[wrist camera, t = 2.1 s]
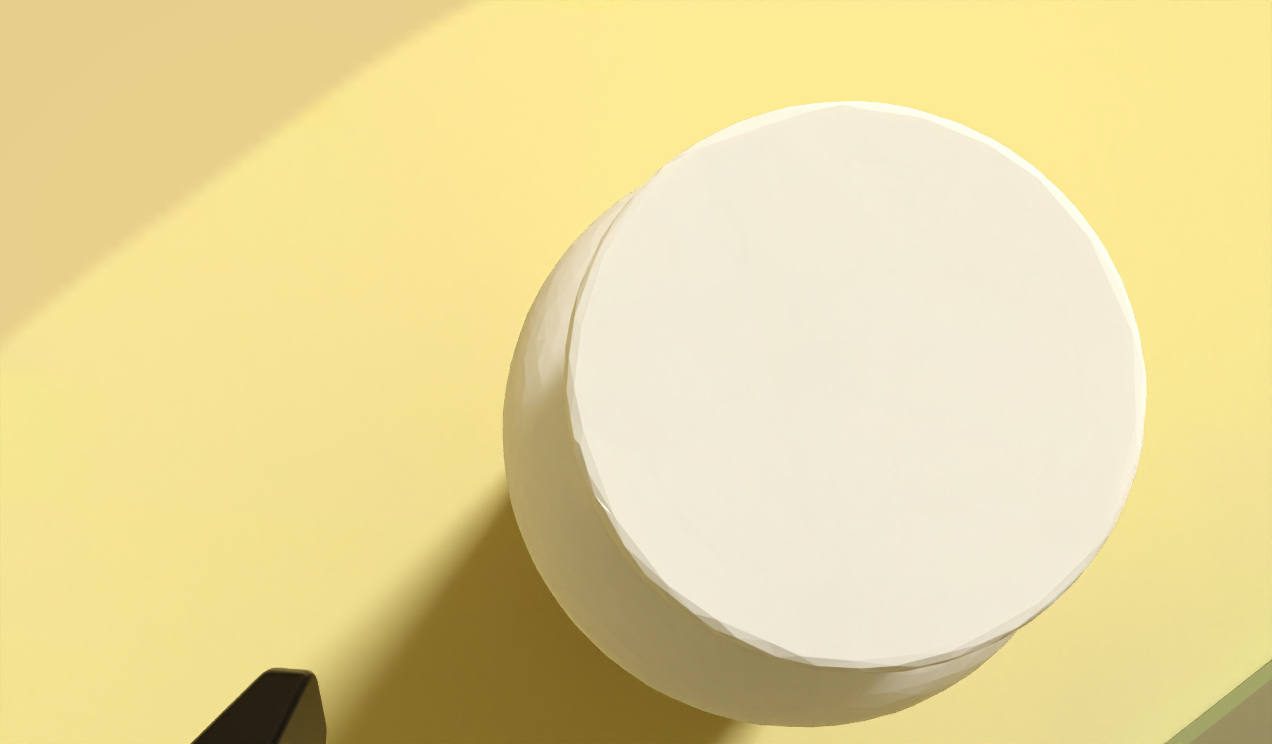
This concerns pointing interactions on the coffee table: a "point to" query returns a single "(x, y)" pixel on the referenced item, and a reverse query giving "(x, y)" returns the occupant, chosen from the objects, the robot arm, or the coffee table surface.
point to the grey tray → (1236, 715)
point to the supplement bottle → (823, 414)
